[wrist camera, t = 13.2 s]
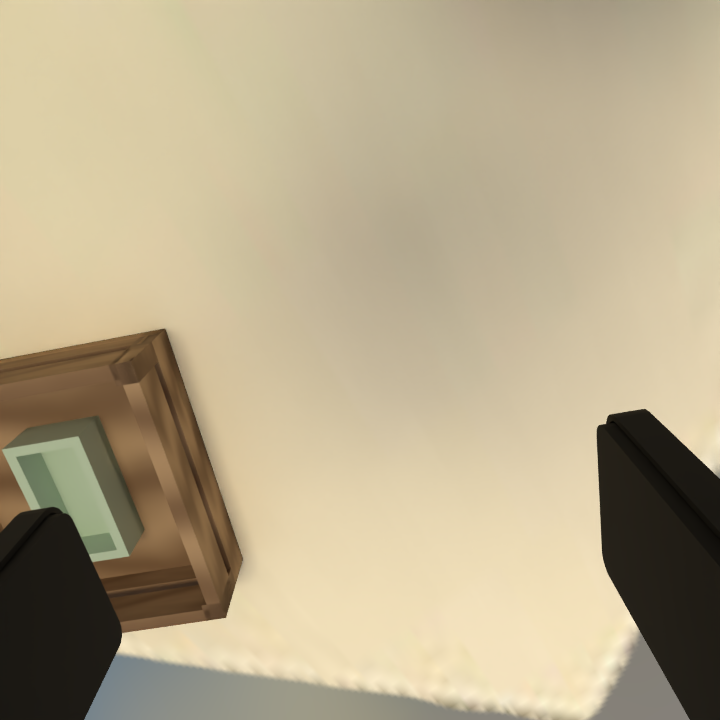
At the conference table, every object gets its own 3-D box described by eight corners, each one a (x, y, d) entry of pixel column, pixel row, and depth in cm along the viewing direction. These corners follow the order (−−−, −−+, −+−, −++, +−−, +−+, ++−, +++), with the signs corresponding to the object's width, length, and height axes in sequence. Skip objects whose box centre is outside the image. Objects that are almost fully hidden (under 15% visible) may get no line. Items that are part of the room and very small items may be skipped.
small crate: (26, 427, 40) (1, 449, 37) (98, 415, 40) (78, 436, 37) (78, 539, 44) (59, 567, 41) (144, 529, 43) (129, 556, 40)
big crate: (-78, 374, 40) (-151, 412, 34) (165, 328, 38) (131, 360, 33) (34, 591, 47) (-10, 652, 41) (242, 559, 45) (225, 617, 40)
